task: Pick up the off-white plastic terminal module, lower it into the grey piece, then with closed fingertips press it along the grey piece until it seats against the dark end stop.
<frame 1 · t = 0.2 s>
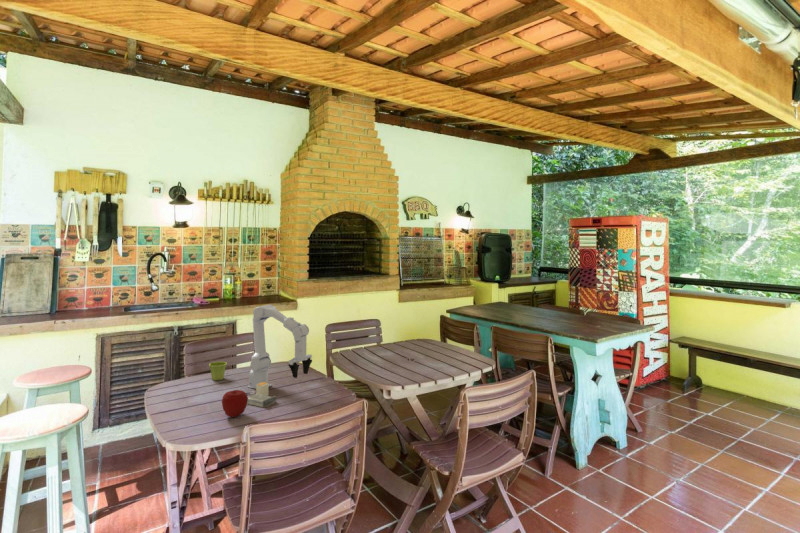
hand: (300, 375, 211), 10 cm above the table, fingers open, 7 cm apart
grey piece: (257, 402, 201), on the table
module: (262, 395, 210), on the table
plant pot: (217, 379, 236), on the table
apple: (234, 416, 184), on the table
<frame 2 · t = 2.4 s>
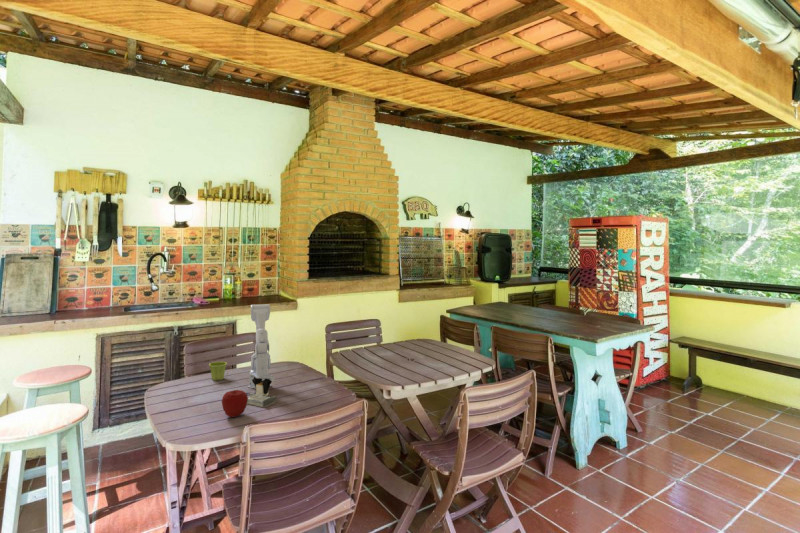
hand: (262, 392, 210), 1 cm above the table, fingers closed on module, 4 cm apart
module: (262, 395, 210), on the table, touching gripper
everything else where it was.
when the fingers open (3 cm above the table, at t = 5.3 s): module stays where it is, resting on grey piece.
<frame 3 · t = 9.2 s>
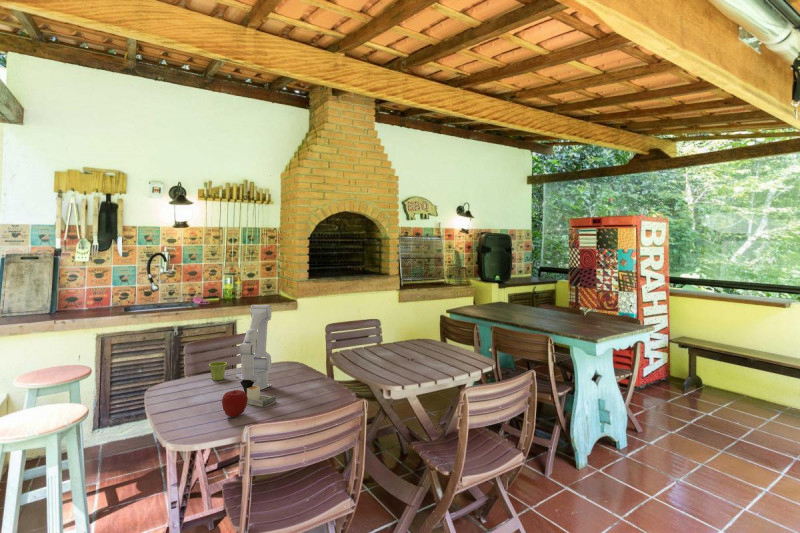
hand: (247, 394, 203), 3 cm above the table, fingers closed
module: (253, 399, 202), point 1 cm above the table, touching gripper, grey piece
everything else where it was.
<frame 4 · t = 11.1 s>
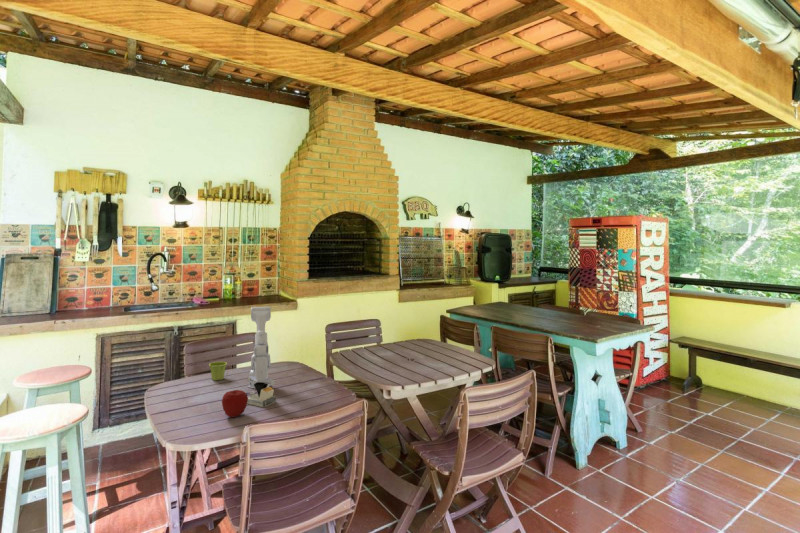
hand: (261, 397, 200), 3 cm above the table, fingers closed
module: (264, 401, 199), point 1 cm above the table, tilted 16°, touching gripper, grey piece
everything else where it was.
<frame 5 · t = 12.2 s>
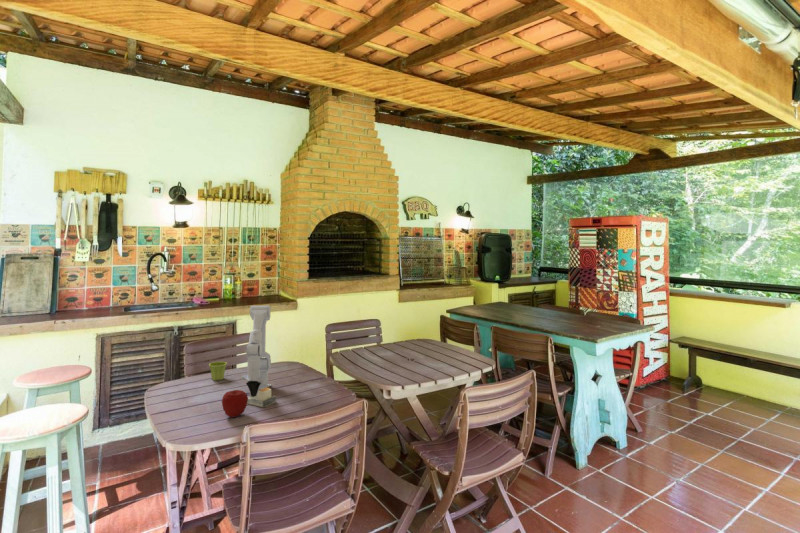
hand: (253, 396, 202), 3 cm above the table, fingers closed
module: (264, 402, 200), point 1 cm above the table, touching grey piece
everything else where it was.
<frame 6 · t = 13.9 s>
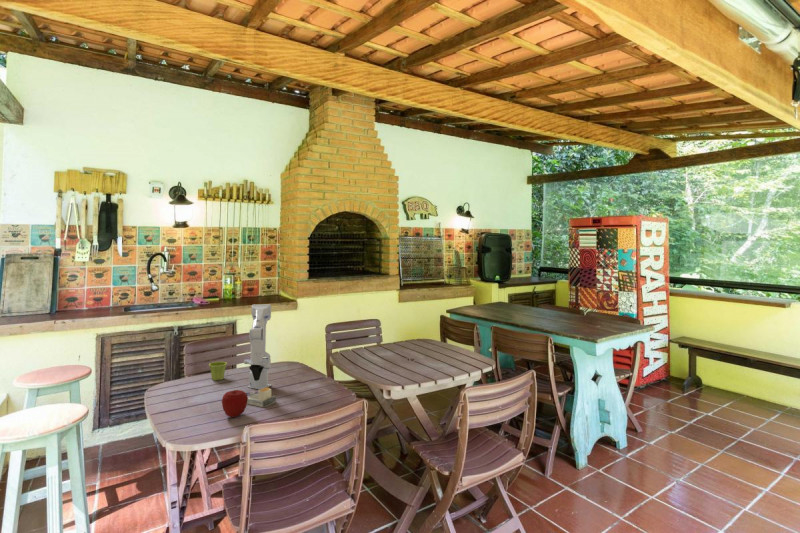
hand: (256, 380, 203), 10 cm above the table, fingers closed
nothing on the table moved.
at the end: module 0.3 cm from the target spot on the grey piece, point 0.6 cm above the grey piece's base; module tilted 0° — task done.
